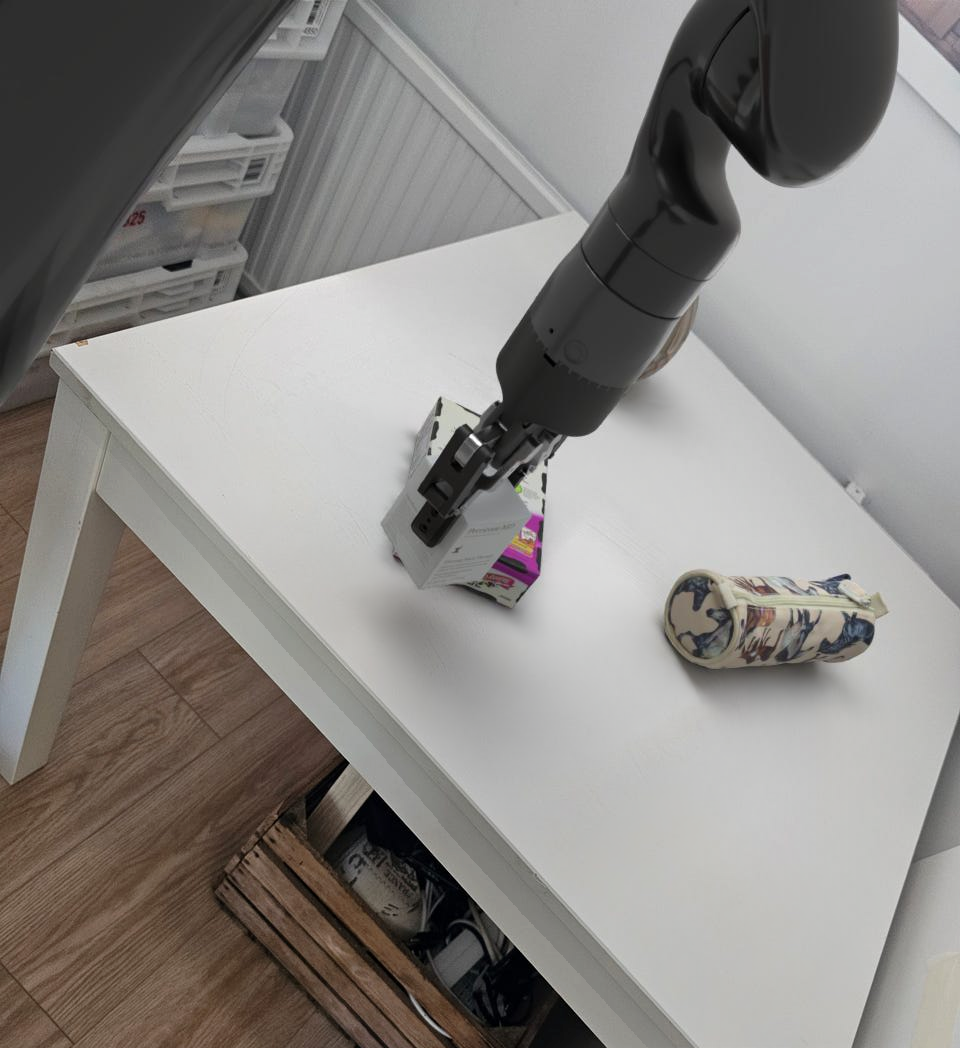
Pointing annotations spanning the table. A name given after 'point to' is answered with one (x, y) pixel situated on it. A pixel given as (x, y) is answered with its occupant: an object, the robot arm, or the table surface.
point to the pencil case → (769, 619)
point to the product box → (455, 533)
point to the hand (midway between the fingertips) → (455, 517)
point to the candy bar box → (525, 550)
